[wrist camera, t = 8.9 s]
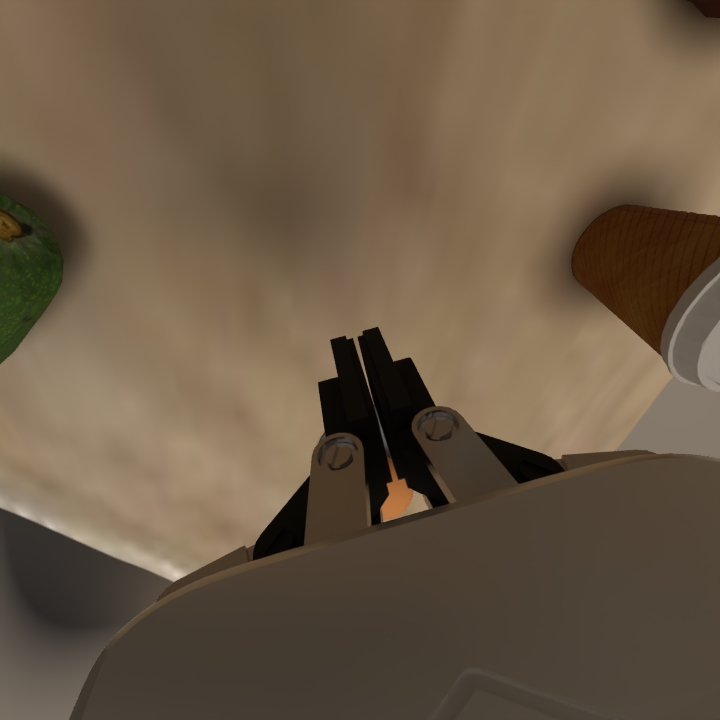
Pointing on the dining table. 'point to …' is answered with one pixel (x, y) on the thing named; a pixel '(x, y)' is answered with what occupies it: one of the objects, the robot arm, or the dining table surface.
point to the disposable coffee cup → (660, 283)
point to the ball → (396, 496)
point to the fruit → (24, 272)
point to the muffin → (708, 7)
